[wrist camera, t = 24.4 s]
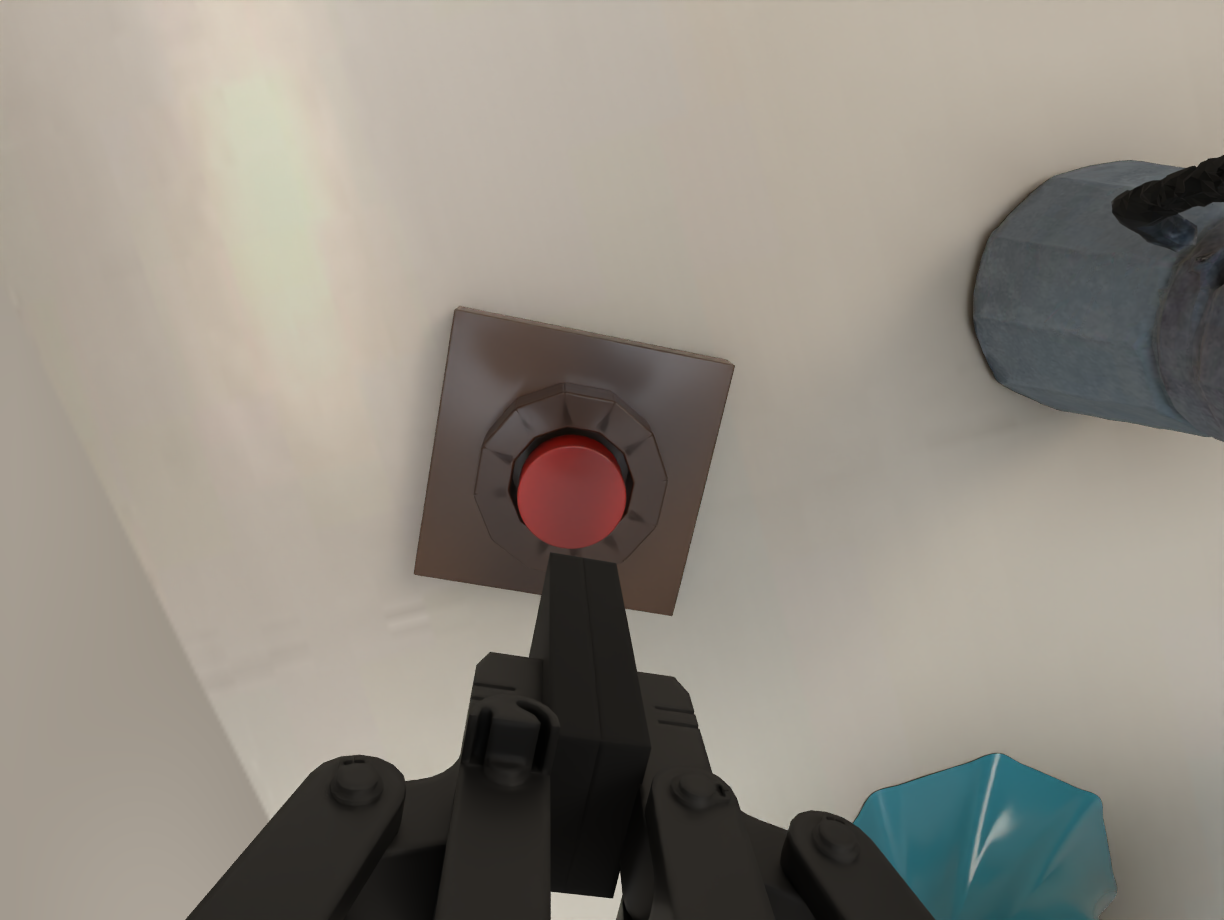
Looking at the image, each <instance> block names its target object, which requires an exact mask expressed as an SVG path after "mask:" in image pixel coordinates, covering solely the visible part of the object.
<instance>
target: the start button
mask: <svg viewBox="0 0 1224 920" xmlns="http://www.w3.org/2000/svg"><path fill="white" fill-rule="evenodd" d="M517 503H518V509H519V512H520V515H521V518H522V520H523V522H524V523H525V525H526V526H527V528H528V529H529V530H530V531H531V532H532V533H533V534H534V535H535V536H536V537H537V538H539V539H540V540H542V541H543V542H545V543H547V544H549V545H552V546H555V547H559V548H566V549H577V548H584V547H587V546H591V545H593V544H596V543H597V542H599V541H601V540H603V539H604V538H605V537H607V536H608V535H609V534H610V533H611V532H612V531H613V530H614V529H615V528H616V526H617V525H618V523H619V522H620V520H621V518H622V516H623V513H624V510H625V505H626V487H625V484H624V480H623V476H622V472H621V469H620V466H619V464H618V462H617V460H616V458H615V457H614V455H613V454H612V453H611V452H610V451H609V450H608V449H607V448H606V447H605V446H604V445H602V444H601V443H600V442H598V441H596V440H594V439H591V438H589V437H586V436H582V435H561V436H557V437H554V438H551V439H549V440H547V441H545V442H543V443H541V444H540V445H539V446H538V447H536V448H535V449H534V450H533V451H532V452H531V453H530V455H529V456H528V457H527V459H526V461H525V462H524V464H523V467H522V469H521V473H520V478H519V485H518V492H517Z"/></svg>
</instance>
